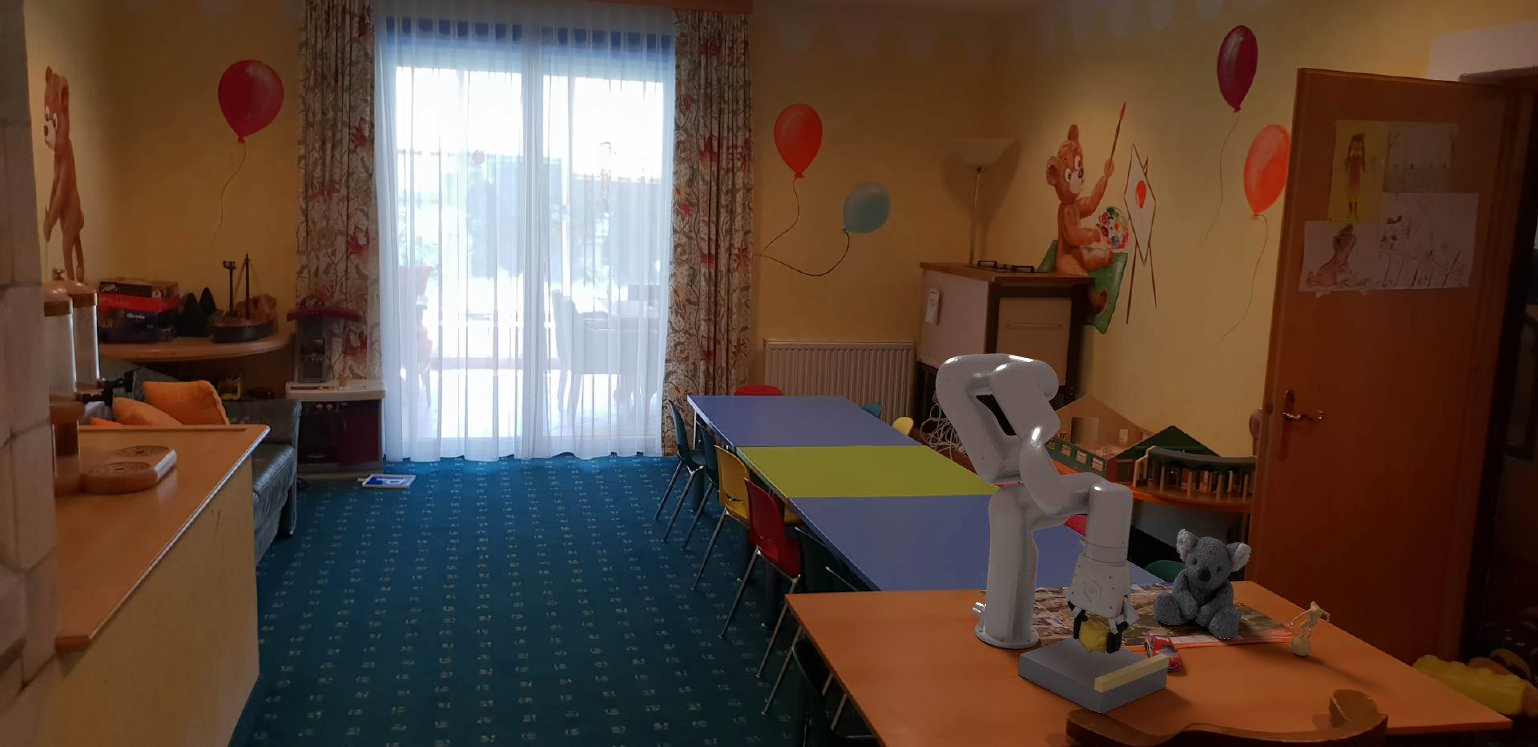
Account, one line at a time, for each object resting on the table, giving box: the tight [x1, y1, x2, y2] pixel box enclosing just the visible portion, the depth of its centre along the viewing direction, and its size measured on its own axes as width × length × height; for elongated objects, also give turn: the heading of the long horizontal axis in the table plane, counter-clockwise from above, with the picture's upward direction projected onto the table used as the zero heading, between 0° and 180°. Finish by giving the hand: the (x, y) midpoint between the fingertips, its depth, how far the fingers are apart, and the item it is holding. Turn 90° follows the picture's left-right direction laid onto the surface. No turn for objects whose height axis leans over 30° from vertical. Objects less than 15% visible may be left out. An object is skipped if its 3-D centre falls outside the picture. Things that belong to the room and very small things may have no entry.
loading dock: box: [1017, 636, 1169, 714], centre depth 201 cm, size 18×20×6 cm
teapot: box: [1079, 619, 1111, 653], centre depth 199 cm, size 8×6×5 cm
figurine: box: [1289, 601, 1331, 657], centre depth 216 cm, size 8×6×12 cm
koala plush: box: [1152, 528, 1253, 640], centre depth 232 cm, size 17×18×20 cm
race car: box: [1143, 632, 1182, 672], centre depth 213 cm, size 13×5×4 cm, turn 169°
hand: (1096, 643), depth 200 cm, fingers closed on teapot, 6 cm apart
